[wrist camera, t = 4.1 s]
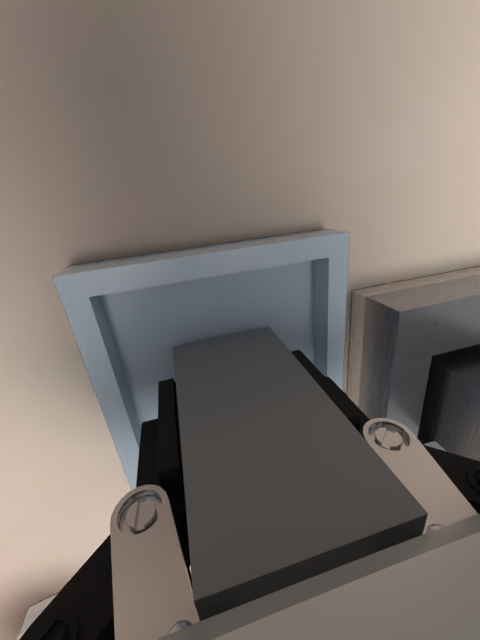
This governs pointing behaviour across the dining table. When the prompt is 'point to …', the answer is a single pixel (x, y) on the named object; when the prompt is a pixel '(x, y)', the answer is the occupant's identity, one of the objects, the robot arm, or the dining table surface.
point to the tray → (200, 314)
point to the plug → (275, 474)
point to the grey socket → (420, 357)
